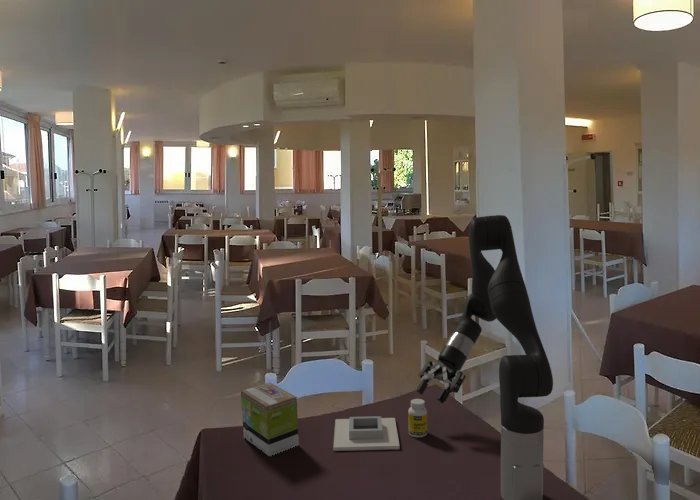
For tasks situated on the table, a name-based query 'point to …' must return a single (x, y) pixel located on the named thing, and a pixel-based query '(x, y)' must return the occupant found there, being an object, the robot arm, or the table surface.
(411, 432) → the supplement bottle
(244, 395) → the tea box
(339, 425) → the socket dock
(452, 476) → the table surface
